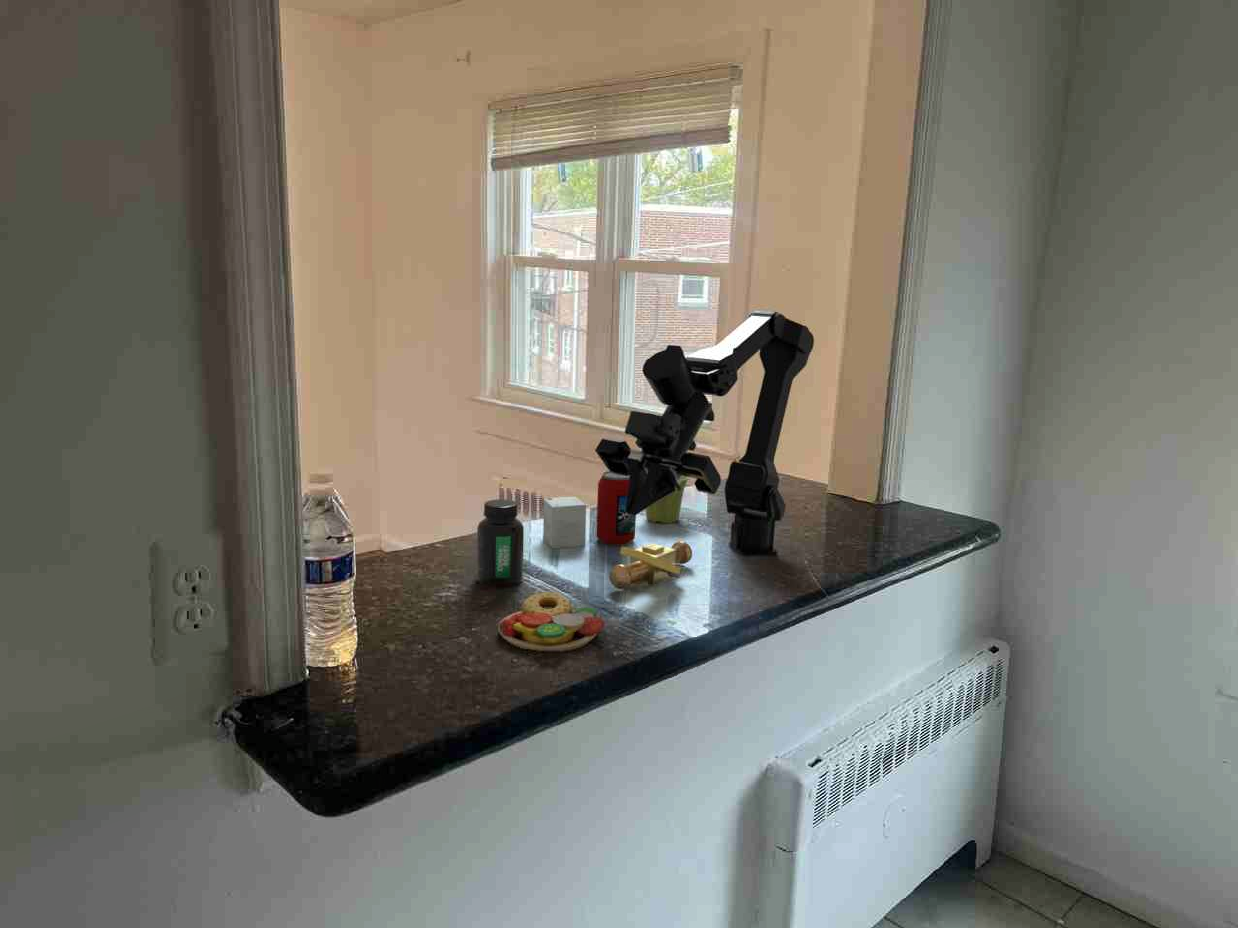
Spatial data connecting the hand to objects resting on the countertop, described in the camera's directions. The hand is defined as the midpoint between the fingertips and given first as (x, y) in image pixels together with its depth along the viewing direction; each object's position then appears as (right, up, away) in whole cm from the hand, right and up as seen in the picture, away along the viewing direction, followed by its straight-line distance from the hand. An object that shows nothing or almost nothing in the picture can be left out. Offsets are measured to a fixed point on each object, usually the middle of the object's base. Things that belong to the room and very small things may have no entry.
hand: (629, 513), depth 124 cm
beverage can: (-2, -7, +33) cm, 33 cm away
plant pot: (+7, -4, +48) cm, 48 cm away
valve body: (+4, -11, +15) cm, 19 cm away
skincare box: (-11, -7, +31) cm, 34 cm away
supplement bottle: (-19, -11, +11) cm, 25 cm away
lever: (+8, -10, +13) cm, 18 cm away
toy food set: (-10, -16, -8) cm, 20 cm away
